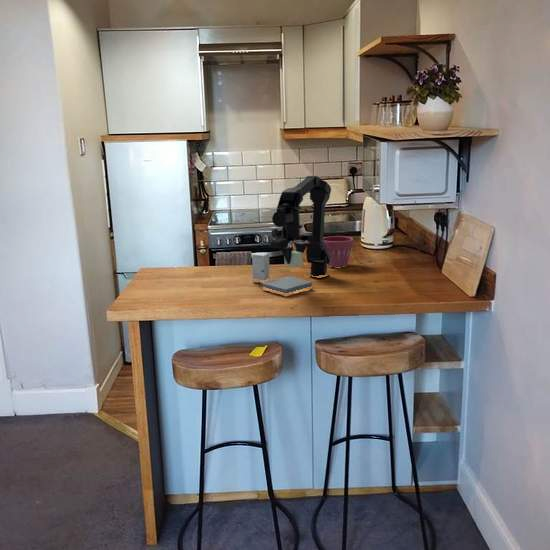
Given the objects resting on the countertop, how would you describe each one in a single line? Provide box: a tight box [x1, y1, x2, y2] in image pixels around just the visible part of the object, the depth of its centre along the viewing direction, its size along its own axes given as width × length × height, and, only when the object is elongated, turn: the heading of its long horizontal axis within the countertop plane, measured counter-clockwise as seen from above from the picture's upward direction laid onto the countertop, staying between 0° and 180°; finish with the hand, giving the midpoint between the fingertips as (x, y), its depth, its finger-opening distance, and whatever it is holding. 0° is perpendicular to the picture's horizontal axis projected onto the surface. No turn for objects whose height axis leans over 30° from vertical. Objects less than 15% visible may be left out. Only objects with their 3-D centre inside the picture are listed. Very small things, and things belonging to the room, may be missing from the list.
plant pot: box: [323, 235, 354, 267], centre depth 261 cm, size 14×14×13 cm
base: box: [261, 276, 313, 293], centre depth 227 cm, size 14×14×3 cm
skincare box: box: [251, 252, 270, 280], centre depth 239 cm, size 6×4×12 cm
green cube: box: [283, 250, 304, 268], centre depth 224 cm, size 5×5×5 cm
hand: (293, 262), depth 224 cm, fingers closed on green cube, 5 cm apart
